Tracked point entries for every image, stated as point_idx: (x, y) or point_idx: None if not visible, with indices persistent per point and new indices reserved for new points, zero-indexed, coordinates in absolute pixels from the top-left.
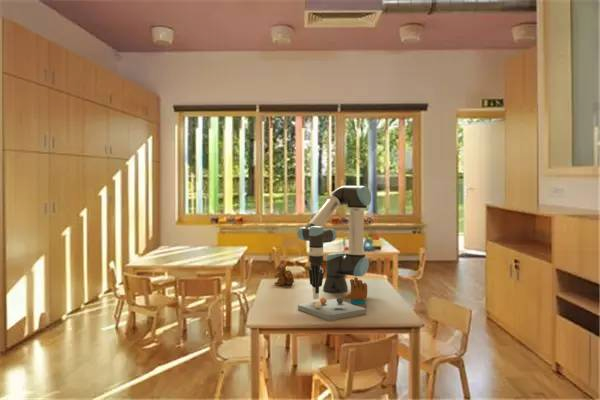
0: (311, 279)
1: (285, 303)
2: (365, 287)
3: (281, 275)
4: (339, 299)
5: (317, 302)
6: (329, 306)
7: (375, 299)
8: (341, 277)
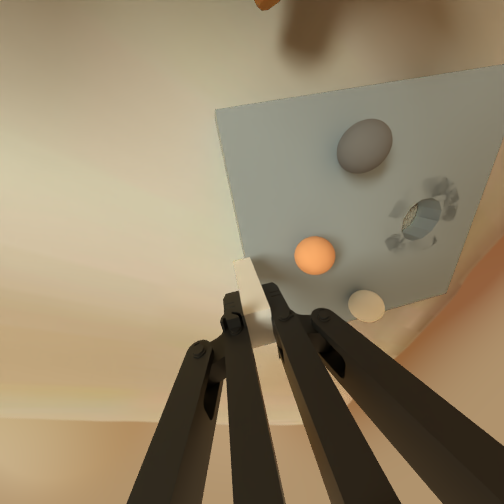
0: (210, 431)
1: (144, 351)
2: None
3: None
4: (381, 162)
5: (379, 318)
6: (361, 240)
7: None
8: None
